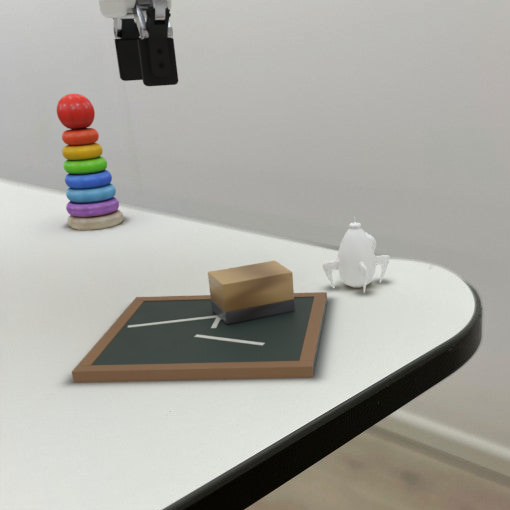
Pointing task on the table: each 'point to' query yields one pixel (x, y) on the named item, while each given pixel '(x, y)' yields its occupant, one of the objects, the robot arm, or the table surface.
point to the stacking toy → (86, 168)
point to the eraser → (251, 291)
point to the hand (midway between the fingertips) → (148, 82)
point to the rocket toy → (356, 259)
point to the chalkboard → (205, 342)
